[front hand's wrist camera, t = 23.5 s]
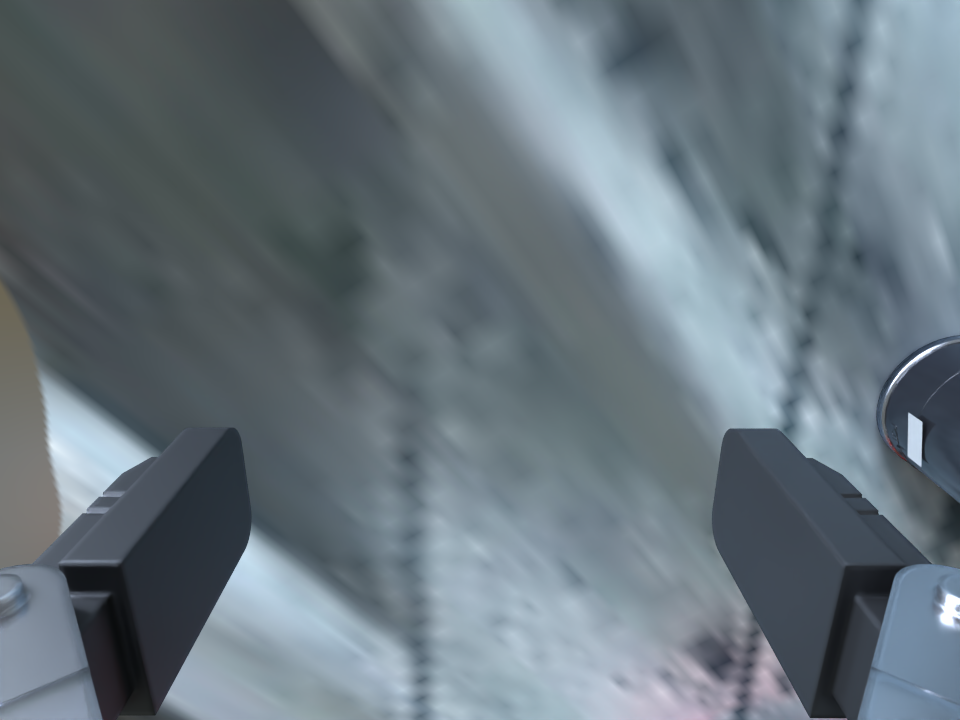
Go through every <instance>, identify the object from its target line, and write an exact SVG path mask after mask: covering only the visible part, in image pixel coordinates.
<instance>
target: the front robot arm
mask: <svg viewBox="0 0 960 720" xmlns="http://www.w3.org/2000/svg"><path fill="white" fill-rule="evenodd" d="M877 425H878V429H879V432H880V434H881V436H882V438H883V440H884V442H885V443H886V444H887V446H888V447H889V448H890V449H891V450H892V451H894V452H895V453H896V454H897V455H899V456H900V457H901V458H902V459H904V460H905V461H907V462H908V463H910V464H911V465H912V466H913V467H915V468H916V469H918V470H919V471H921V472H922V473H923V474H924V475H926V476H927V477H928V478H929V479H930V480H932V481H933V482H934V483H935V484H937V485H938V486H939V487H940V488H942V489H943V490H944V491H945V492H947V493H948V494H949V495H950V496H951V497H953V498H954V499H955V500H956V501H958V502H959V503H960V335H958V336H951V337H946V338H943V339H939V340H937V341H934V342H932V343H929V344H927V345H925V346H923V347H922V348H920V349H918V350H917V351H915V352H914V353H912V354H911V355H910V356H908V357H907V358H906V359H905V360H904V361H903V362H902V363H900V364H899V366H898V367H897V368H896V369H895V370H894V371H893V373H892V374H891V375H890V377H889V378H888V380H887V381H886V383H885V385H884V387H883V389H882V391H881V394H880V397H879V400H878V405H877ZM712 527H713V535H714V539H715V543H716V546H717V549H718V551H719V553H720V554H721V556H722V558H723V560H724V562H725V564H726V565H727V567H728V569H729V571H730V573H731V575H732V576H733V578H734V580H735V582H736V584H737V586H738V587H739V589H740V591H741V593H742V595H743V596H744V598H745V600H746V602H747V604H748V606H749V607H750V609H751V611H752V613H753V615H754V617H755V618H756V620H757V622H758V624H759V626H760V628H761V629H762V631H763V633H764V635H765V637H766V638H767V640H768V642H769V644H770V646H771V648H772V649H773V651H774V653H775V655H776V657H777V659H778V660H779V662H780V664H781V666H782V668H783V670H784V671H785V673H786V675H787V677H788V679H789V681H790V682H791V684H792V686H793V688H794V690H795V691H796V693H797V695H798V697H799V699H800V701H801V702H802V704H803V706H804V708H805V710H806V712H807V713H808V715H809V717H810V718H847V719H848V720H960V569H958V568H954V567H949V566H944V565H936V564H931V563H930V562H929V561H928V560H927V559H926V558H925V557H924V556H923V555H922V554H921V553H920V552H919V551H918V550H917V549H916V548H915V547H914V546H913V545H912V544H911V543H910V542H909V541H908V540H907V539H906V538H905V537H904V536H903V535H902V534H901V533H900V532H899V531H898V530H897V529H896V528H895V527H894V526H893V525H892V524H891V523H890V522H889V521H888V520H887V519H886V518H885V517H884V516H883V515H879V514H878V510H877V509H876V508H875V507H874V506H873V505H872V504H871V503H870V502H869V501H868V500H867V499H866V498H862V494H861V493H860V492H859V491H858V490H857V489H856V488H855V487H854V486H853V485H852V484H851V483H850V482H849V481H848V480H847V479H846V478H845V477H844V476H843V475H842V474H840V473H838V472H836V471H834V470H833V469H831V468H829V467H827V466H825V465H824V464H822V463H820V462H818V461H817V460H815V459H813V458H806V457H805V456H804V455H803V454H802V453H801V452H800V451H799V450H798V449H797V448H796V447H795V446H794V445H793V444H792V443H791V442H790V440H789V439H788V438H787V437H786V436H785V435H784V434H783V433H782V432H781V431H780V430H778V429H729V430H728V431H727V432H726V433H725V435H724V438H723V442H722V447H721V454H720V461H719V468H718V475H717V482H716V489H715V496H714V503H713V511H712ZM250 530H251V505H250V498H249V491H248V484H247V477H246V470H245V463H244V456H243V449H242V442H241V438H240V435H239V433H238V431H237V430H236V429H235V428H186V429H184V430H183V431H182V432H181V433H180V434H179V435H178V436H177V438H176V439H175V440H174V441H173V442H172V443H171V444H170V445H169V446H168V447H167V448H166V449H165V450H164V451H163V452H162V453H161V455H160V456H159V457H151V458H149V459H147V460H146V461H144V462H142V463H140V464H139V465H137V466H135V467H133V468H131V469H130V470H128V471H126V472H124V473H123V474H121V475H120V476H119V477H118V478H117V479H116V480H115V481H114V482H113V483H112V484H111V485H110V486H109V487H108V488H107V489H106V490H105V491H104V492H103V497H98V498H97V499H96V500H95V501H94V503H93V504H92V505H91V506H90V507H89V508H88V509H87V513H83V514H82V515H81V516H80V517H79V518H78V519H77V520H76V521H75V522H74V523H73V524H72V525H71V526H70V527H69V528H68V529H67V530H66V531H65V532H64V533H63V534H62V535H61V536H60V537H59V538H58V539H57V540H56V541H55V542H54V543H53V544H52V545H51V546H50V547H49V548H48V549H47V550H46V551H45V552H44V553H43V554H42V555H41V556H40V557H39V558H38V559H37V560H36V561H35V562H34V563H33V564H24V565H16V566H11V567H6V568H2V569H0V720H117V718H118V716H119V715H156V713H157V711H158V710H159V708H160V706H161V704H162V702H163V700H164V699H165V697H166V695H167V693H168V691H169V689H170V687H171V686H172V684H173V682H174V680H175V678H176V676H177V675H178V673H179V671H180V669H181V667H182V665H183V663H184V662H185V660H186V658H187V656H188V654H189V652H190V650H191V649H192V647H193V645H194V643H195V641H196V639H197V638H198V636H199V634H200V632H201V630H202V628H203V626H204V625H205V623H206V621H207V619H208V617H209V615H210V613H211V612H212V610H213V608H214V606H215V604H216V602H217V601H218V599H219V597H220V595H221V593H222V591H223V589H224V588H225V586H226V584H227V582H228V580H229V578H230V577H231V575H232V573H233V571H234V569H235V567H236V565H237V564H238V562H239V560H240V558H241V556H242V554H243V552H244V551H245V549H246V546H247V543H248V540H249V536H250Z"/></svg>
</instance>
